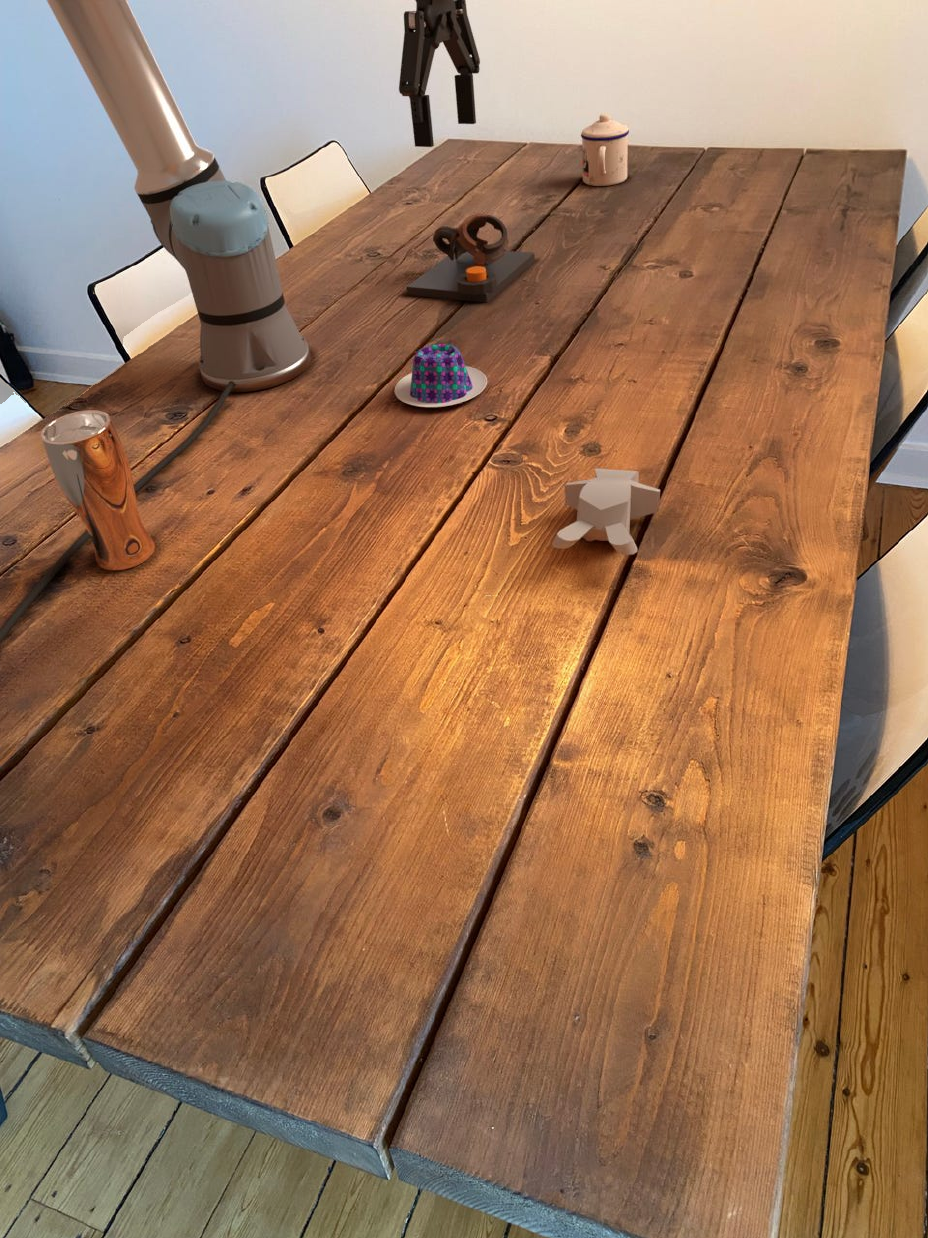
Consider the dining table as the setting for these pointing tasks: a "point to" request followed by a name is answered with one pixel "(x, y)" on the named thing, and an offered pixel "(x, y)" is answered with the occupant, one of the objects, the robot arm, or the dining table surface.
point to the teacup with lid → (605, 152)
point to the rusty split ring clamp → (472, 240)
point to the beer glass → (98, 486)
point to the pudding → (439, 378)
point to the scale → (452, 279)
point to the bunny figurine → (607, 509)
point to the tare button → (476, 274)
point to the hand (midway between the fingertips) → (446, 134)
